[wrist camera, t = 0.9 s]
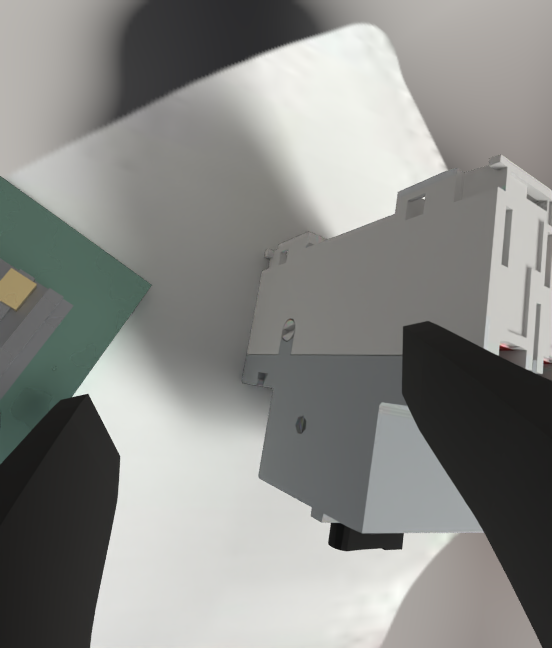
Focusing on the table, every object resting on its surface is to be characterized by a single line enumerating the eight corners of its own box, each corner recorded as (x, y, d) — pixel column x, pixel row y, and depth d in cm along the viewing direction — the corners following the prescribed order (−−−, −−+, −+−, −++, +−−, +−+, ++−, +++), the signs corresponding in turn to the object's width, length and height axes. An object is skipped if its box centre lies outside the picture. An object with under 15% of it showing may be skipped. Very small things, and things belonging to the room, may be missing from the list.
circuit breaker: (221, 491, 24) (455, 661, 11) (265, 250, 26) (501, 146, 13) (327, 496, 27) (600, 628, 14) (358, 283, 29) (615, 228, 16)
